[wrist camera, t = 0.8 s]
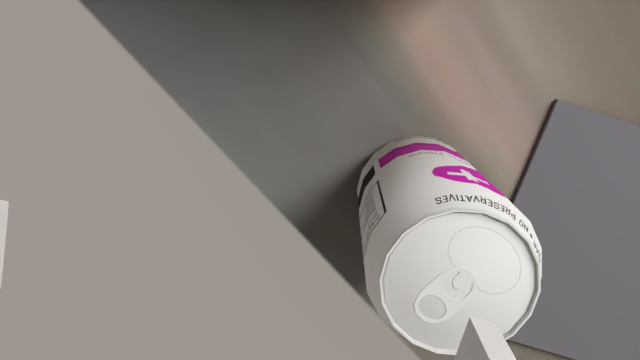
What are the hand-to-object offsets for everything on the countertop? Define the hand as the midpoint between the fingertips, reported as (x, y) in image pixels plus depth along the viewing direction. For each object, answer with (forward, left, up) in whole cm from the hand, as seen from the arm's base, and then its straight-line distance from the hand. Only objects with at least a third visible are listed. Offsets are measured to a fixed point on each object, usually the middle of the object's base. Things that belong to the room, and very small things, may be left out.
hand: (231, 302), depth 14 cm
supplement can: (+1, +9, -23) cm, 25 cm away
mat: (+1, +24, -23) cm, 33 cm away
